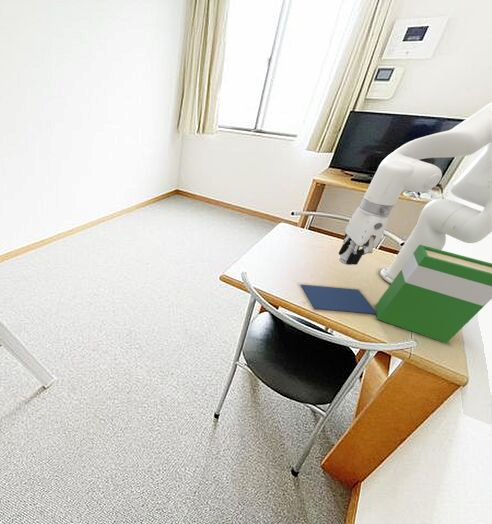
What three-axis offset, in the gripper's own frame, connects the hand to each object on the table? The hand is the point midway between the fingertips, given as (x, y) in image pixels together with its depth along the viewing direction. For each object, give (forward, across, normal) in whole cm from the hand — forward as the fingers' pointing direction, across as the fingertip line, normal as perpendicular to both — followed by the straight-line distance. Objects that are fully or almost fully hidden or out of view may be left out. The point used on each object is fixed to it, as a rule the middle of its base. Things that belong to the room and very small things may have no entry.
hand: (347, 258), depth 96 cm
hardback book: (+15, -12, -20) cm, 27 cm away
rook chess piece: (+1, 0, 0) cm, 1 cm away
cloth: (+15, -3, -2) cm, 15 cm away
